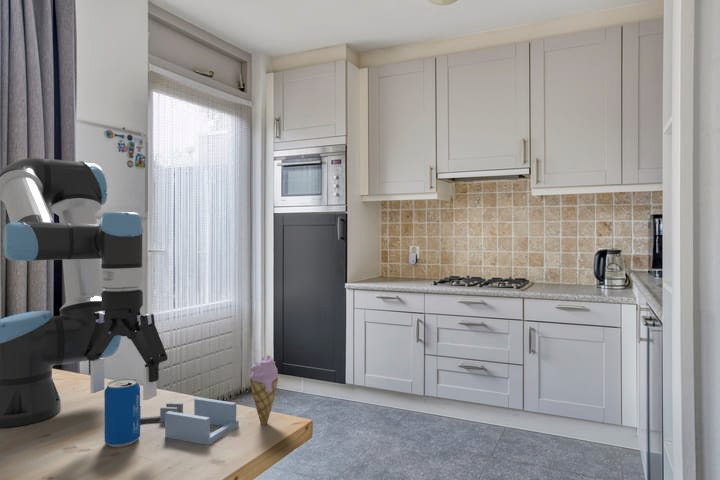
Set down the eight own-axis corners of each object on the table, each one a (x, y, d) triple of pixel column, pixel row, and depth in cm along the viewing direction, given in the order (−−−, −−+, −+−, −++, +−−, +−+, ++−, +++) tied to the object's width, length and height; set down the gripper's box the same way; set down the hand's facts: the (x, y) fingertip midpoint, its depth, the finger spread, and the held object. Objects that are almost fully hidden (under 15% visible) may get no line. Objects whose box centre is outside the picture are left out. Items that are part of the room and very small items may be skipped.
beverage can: (126, 450, 95) (125, 388, 95) (97, 447, 97) (96, 386, 96) (146, 436, 102) (146, 379, 101) (119, 434, 103) (119, 377, 103)
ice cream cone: (285, 424, 108) (285, 356, 108) (261, 432, 104) (261, 362, 104) (266, 416, 113) (266, 351, 113) (243, 424, 108) (243, 356, 108)
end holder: (165, 437, 101) (165, 413, 101) (197, 419, 111) (197, 397, 111) (208, 445, 98) (208, 420, 98) (238, 425, 107) (238, 403, 107)
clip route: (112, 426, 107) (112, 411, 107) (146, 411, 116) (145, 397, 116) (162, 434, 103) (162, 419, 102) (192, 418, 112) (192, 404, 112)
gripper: (60, 289, 99) (60, 393, 99) (158, 292, 91) (159, 407, 91) (91, 285, 107) (92, 383, 106) (185, 288, 98) (186, 395, 98)
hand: (123, 394), depth 99 cm, fingers open, 13 cm apart
